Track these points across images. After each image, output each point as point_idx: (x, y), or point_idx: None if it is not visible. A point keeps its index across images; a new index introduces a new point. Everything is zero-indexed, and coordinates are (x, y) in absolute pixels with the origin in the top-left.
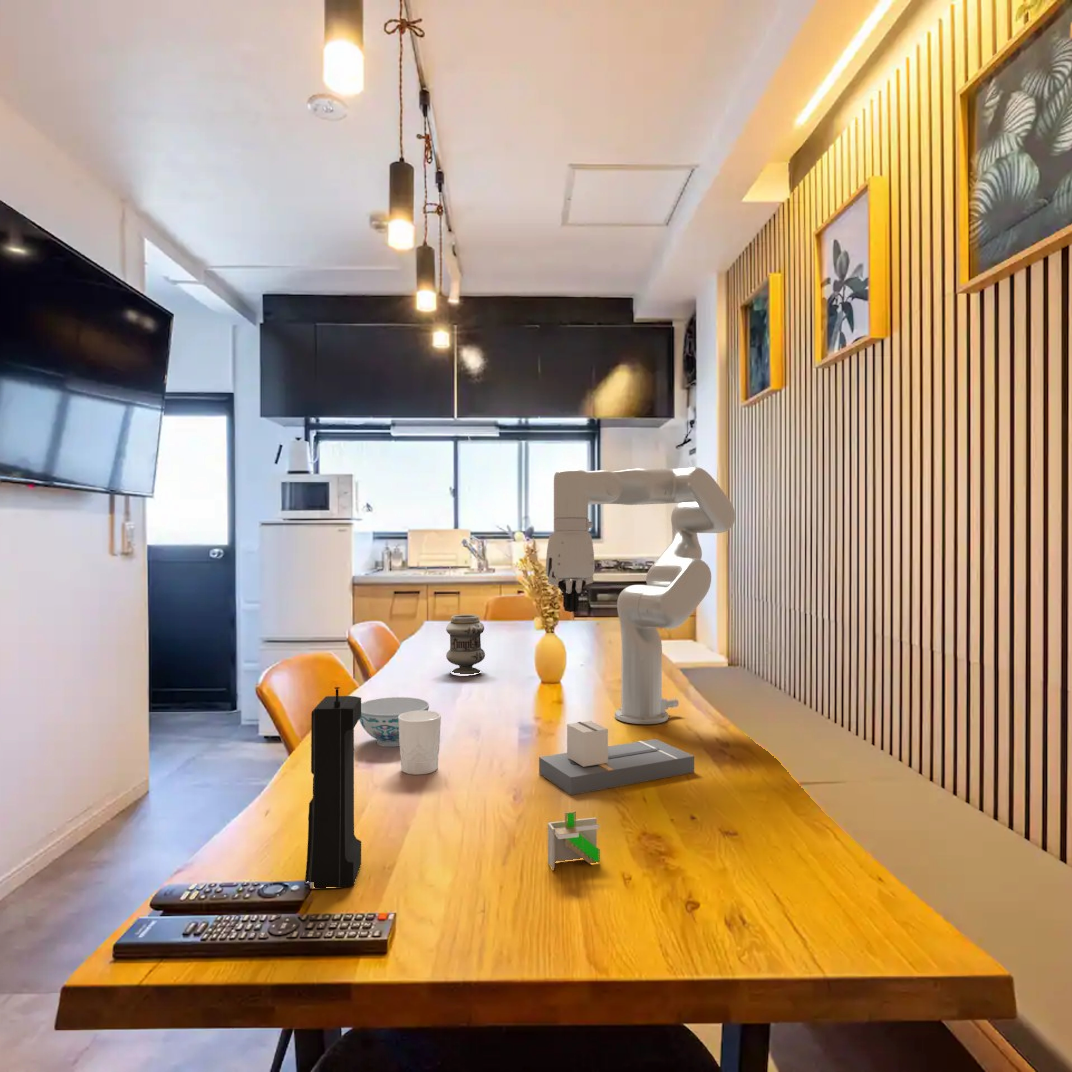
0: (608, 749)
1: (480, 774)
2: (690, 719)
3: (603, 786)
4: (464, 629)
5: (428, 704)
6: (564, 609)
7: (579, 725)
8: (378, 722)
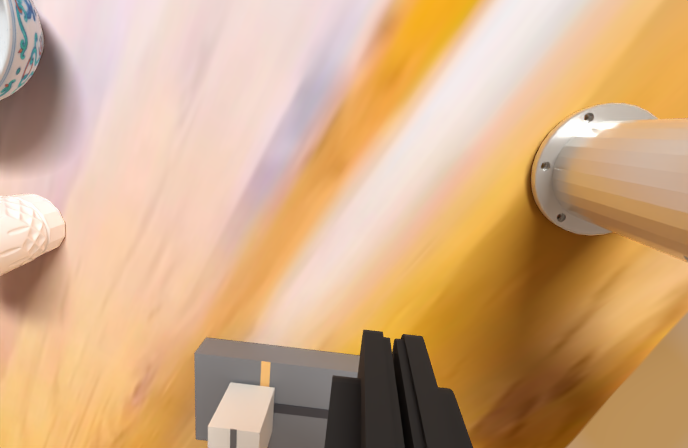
0: (317, 380)
1: (122, 295)
2: None
3: None
4: None
5: (6, 51)
6: (363, 333)
7: (224, 443)
8: None
